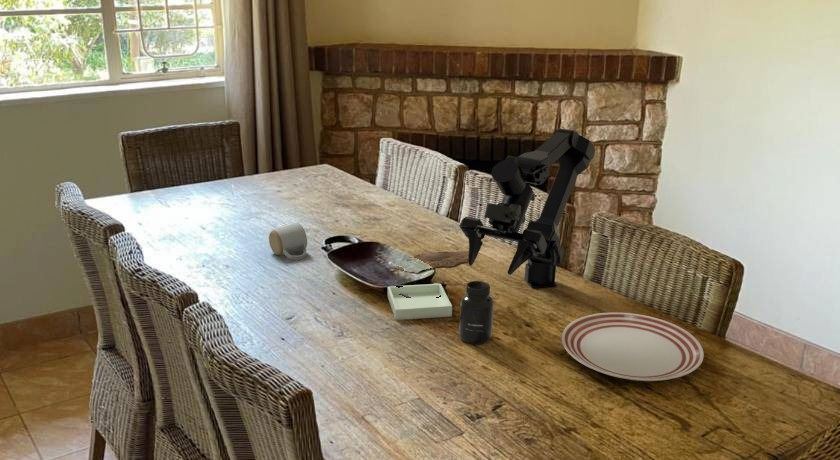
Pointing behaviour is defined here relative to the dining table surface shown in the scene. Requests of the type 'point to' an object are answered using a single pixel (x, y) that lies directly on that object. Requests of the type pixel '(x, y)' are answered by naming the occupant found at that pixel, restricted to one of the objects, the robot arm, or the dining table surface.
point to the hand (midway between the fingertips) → (489, 269)
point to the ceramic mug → (289, 241)
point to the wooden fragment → (441, 259)
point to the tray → (419, 302)
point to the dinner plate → (632, 346)
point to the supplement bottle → (476, 313)
